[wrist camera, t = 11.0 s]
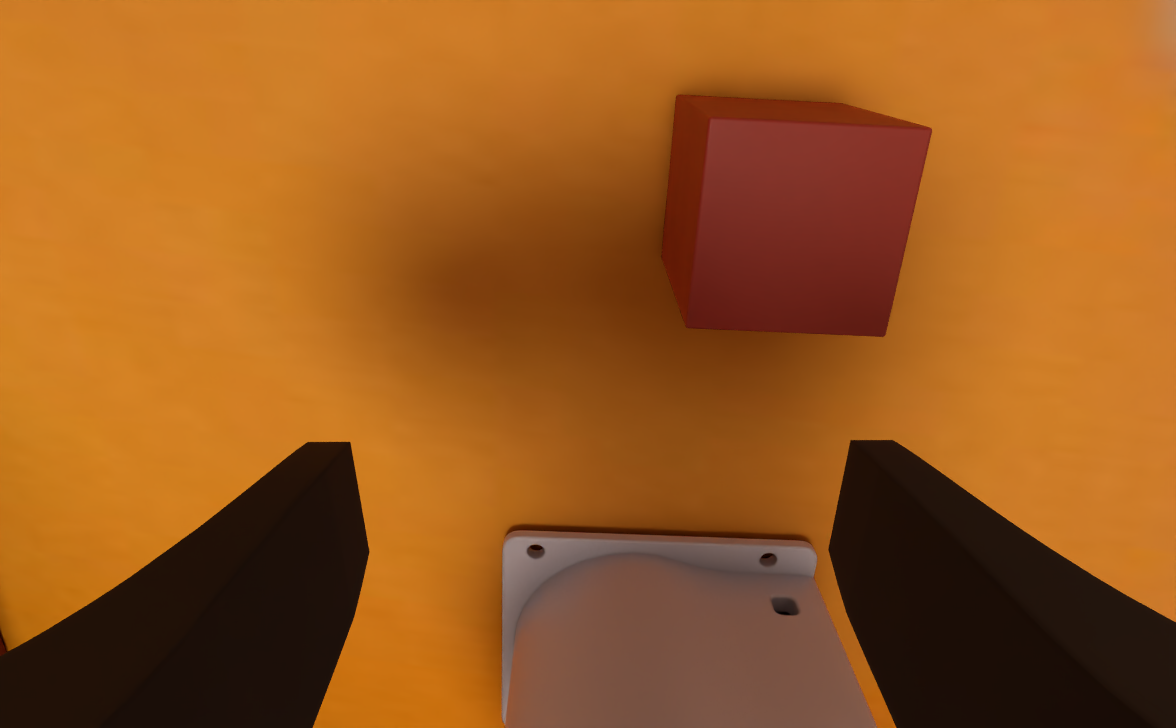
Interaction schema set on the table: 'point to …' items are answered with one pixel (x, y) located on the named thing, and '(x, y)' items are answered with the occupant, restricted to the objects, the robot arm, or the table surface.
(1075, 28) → the table surface
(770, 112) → the red block
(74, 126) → the table surface
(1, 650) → the red bin
